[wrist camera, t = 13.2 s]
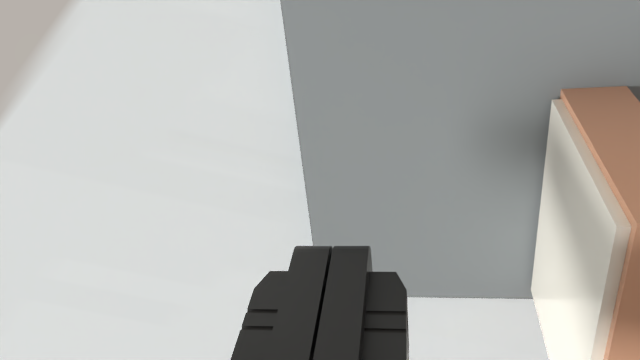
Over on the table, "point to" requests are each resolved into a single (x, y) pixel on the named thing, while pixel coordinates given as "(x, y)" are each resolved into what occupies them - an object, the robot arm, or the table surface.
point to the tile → (590, 227)
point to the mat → (443, 126)
